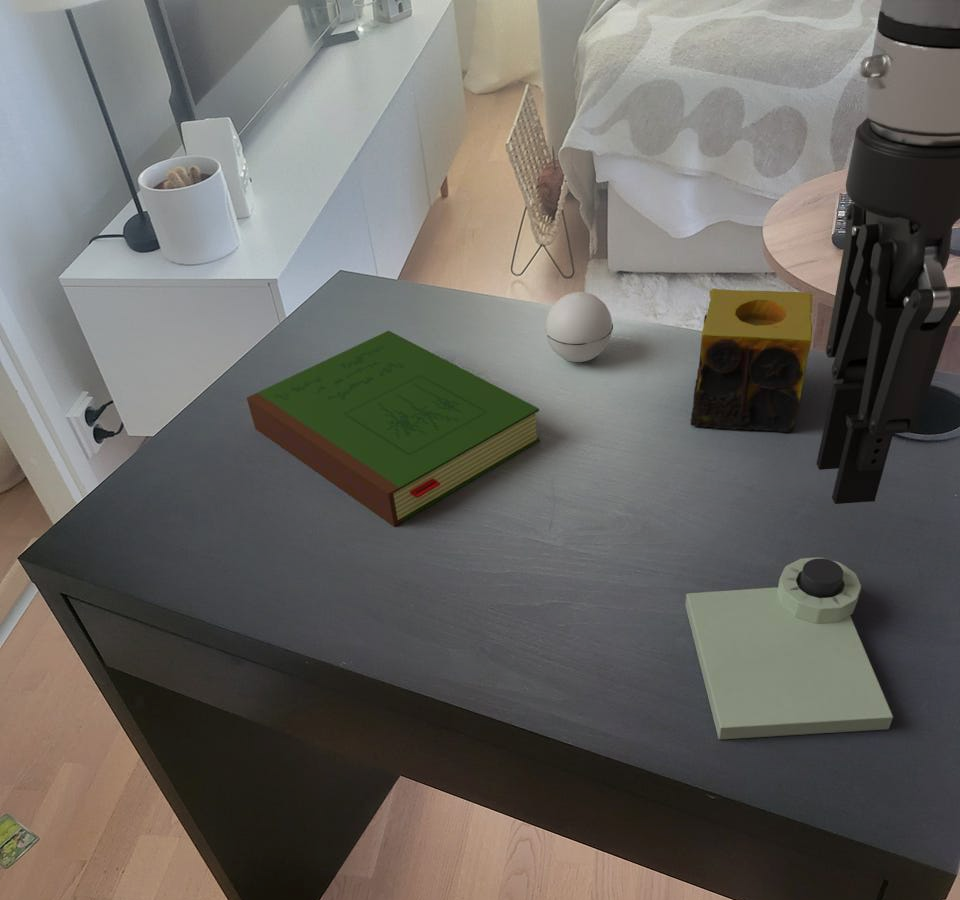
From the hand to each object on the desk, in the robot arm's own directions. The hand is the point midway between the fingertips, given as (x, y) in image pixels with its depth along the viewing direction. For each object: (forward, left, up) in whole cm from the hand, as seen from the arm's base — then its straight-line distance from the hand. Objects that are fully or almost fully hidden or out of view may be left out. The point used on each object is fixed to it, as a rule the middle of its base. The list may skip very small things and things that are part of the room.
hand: (844, 481), depth 67 cm
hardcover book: (+35, -30, -13) cm, 48 cm away
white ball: (+14, -42, -13) cm, 46 cm away
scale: (+4, +5, -13) cm, 14 cm away
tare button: (0, 0, -10) cm, 10 cm away
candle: (-1, -31, -13) cm, 33 cm away
